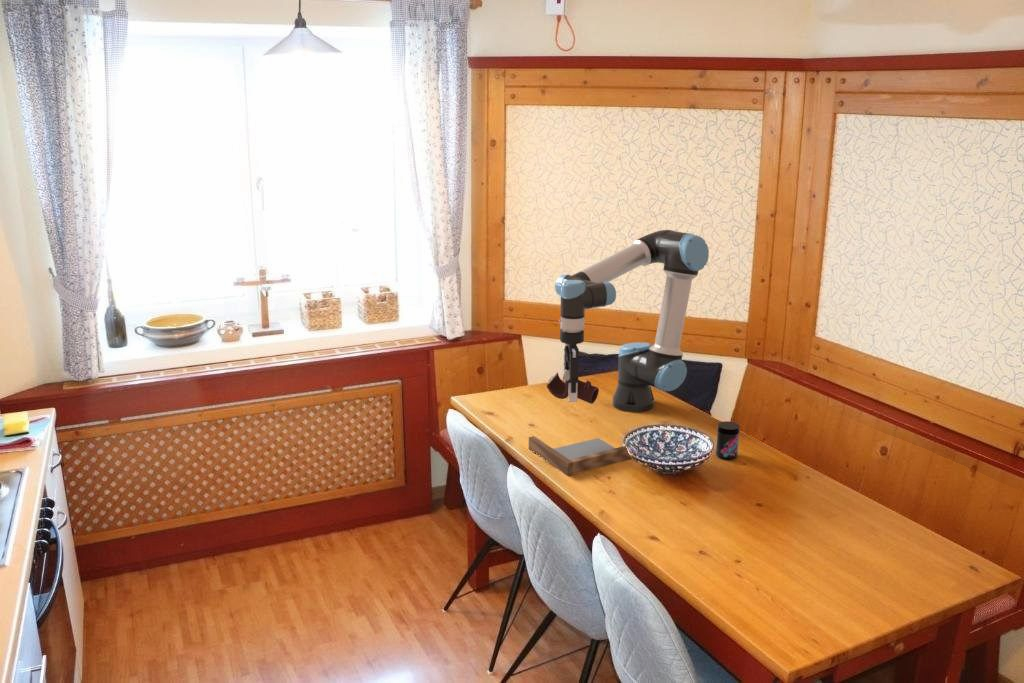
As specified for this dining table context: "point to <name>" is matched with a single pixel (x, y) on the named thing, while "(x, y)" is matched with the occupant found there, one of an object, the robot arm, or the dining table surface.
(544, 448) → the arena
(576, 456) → the mat
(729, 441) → the supplement container
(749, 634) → the dining table surface
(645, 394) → the robot arm
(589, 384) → the bracket
